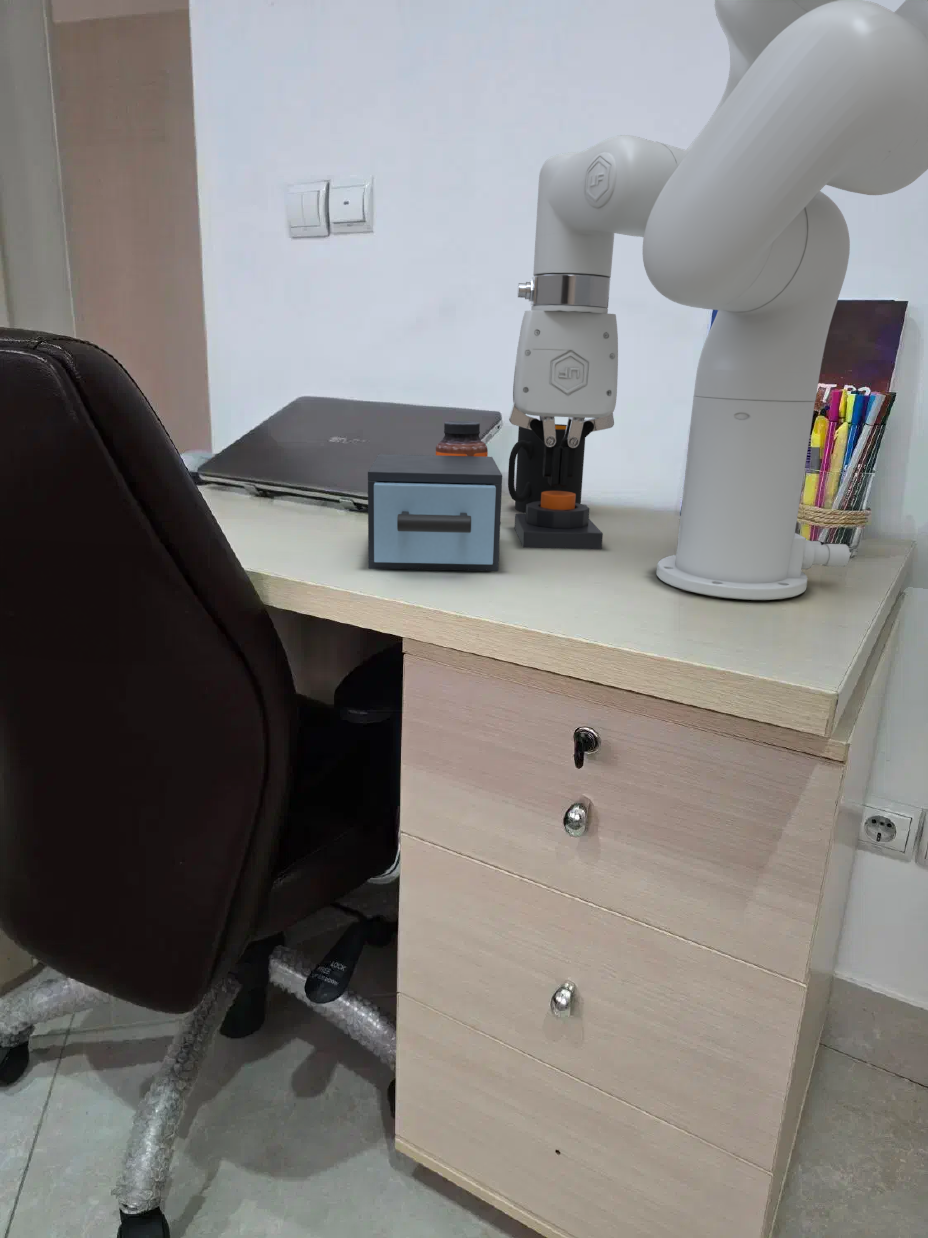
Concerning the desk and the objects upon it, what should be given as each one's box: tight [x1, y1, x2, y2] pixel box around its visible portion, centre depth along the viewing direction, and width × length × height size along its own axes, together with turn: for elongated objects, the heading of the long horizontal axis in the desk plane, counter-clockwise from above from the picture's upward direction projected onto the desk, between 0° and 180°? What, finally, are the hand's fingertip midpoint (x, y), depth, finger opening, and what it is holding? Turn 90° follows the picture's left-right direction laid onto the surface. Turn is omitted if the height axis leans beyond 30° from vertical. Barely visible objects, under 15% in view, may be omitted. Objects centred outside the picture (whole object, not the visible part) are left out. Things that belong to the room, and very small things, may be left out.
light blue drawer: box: [374, 481, 496, 565], centre depth 75 cm, size 17×10×7 cm, turn 2°
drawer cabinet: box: [367, 453, 503, 572], centre depth 79 cm, size 14×12×9 cm
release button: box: [541, 491, 576, 510], centre depth 87 cm, size 4×4×2 cm
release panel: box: [514, 501, 604, 550], centre depth 88 cm, size 8×10×4 cm
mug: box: [507, 423, 586, 514], centre depth 102 cm, size 8×12×10 cm
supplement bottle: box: [435, 420, 489, 457], centre depth 94 cm, size 6×6×11 cm
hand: (556, 484), depth 87 cm, fingers closed
